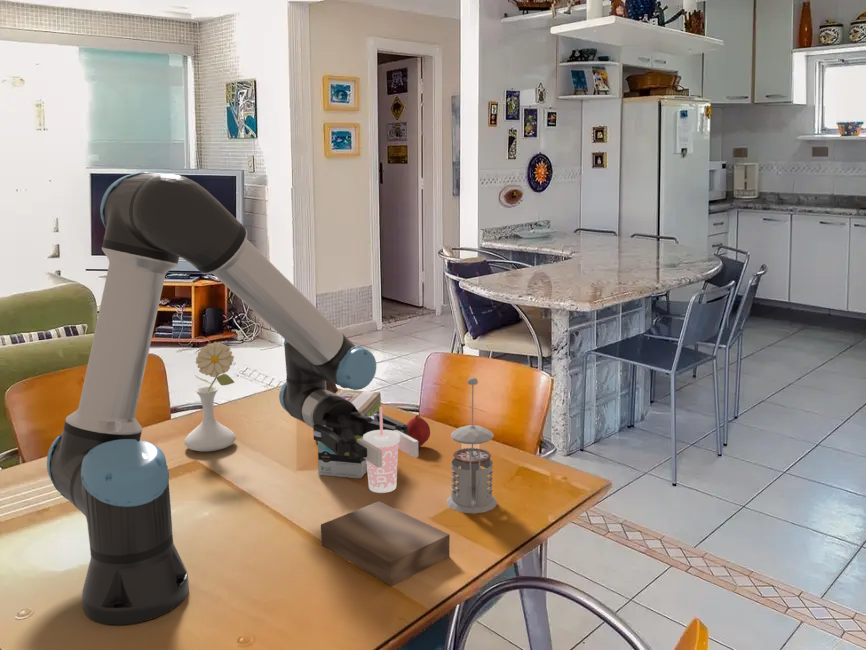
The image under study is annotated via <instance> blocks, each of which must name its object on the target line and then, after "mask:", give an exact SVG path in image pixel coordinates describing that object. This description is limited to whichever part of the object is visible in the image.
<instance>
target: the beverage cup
mask: <svg viewBox="0 0 866 650" xmlns="http://www.w3.org/2000/svg"><path fill="white" fill-rule="evenodd" d="M379 412H380V430H374V431H370V432H367V433H366V434H364V435H363V439H364V440H365V441H367V442H369V443H370V444H372V445H374V446H375V447H377V448H379V449H381V450H382V467H376V466H375V465H373V464H372V463H370V462H369V461H367V460H366V462H367V471H366V473H367V483H368V489H369V490H370V491H371V492H373V493H378V494H385V493H390V492H392V491H395V489H397V483H398V482H397V481H398V480H397V479H398V461H399V459H398V458H399V449H398V443H399V442H400V434H399V433H398V432H395V431H392V430H383V417H382V413H383V406H382V405H381V406H380V407H379Z"/></svg>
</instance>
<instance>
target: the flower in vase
mask: <svg viewBox="0 0 866 650" xmlns="http://www.w3.org/2000/svg"><path fill="white" fill-rule="evenodd" d="M234 358H235V356H234V355H233V352H232V350H231V347H230V346H228V345H225V344H223V343H222V342H218V341H214V342H212V343H207V344H206V345H205V346H202V347H201V348H200V350H199V351H198V353H197V357H196V359H195V360H196V361H195V364H196V365H197V368H198V371H199V373H201V374H204V375H205V376H209V377H211V378H214V379H213V380H212V382H209V380H207V379H204V378H202V377H198V376H197V375H195V373H194V376H195V377H196V379H199V380H201V381H203V382H206V383H209V384H210V385H207V386H201V387H197V388H195V390H194V391H195V392H196V394H197V395H198V396H199V398H200V401H201V404H202V405H201V406H202V412H203V417H202V421H201V422H200V424H198V425H197V426H196V427H195V428H193V429H192V430H191V432H190V433H188V434H187V436H186V437H185V439H184V441H183V442H184V445H185V447H186V448H188V449H189V450H191V451H196V452H214V451H219V450H223V449H225V448H228V447H230V446H232V445H233V444H234V443H235V441H236V439H237V437H236V435H235V433H234V432H233V431H232V430H231V429H230V428H228V427H226V426H225V425H224V424H222V423H220V422H219V421H217V419H216V418H215V415H214V400H215V396H216V394H217V392H218V390H219V387H217V386H213V385H214V383H215V382H216V381H217V382H218V384H219V385H220V386H228V385H232V384H234V383H235V381H234V380H233V378H231V377H230V375H228V374H226V373H228V372H229V370H230V367H231V366H232V364H233V362H234Z"/></svg>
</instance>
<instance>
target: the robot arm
mask: <svg viewBox="0 0 866 650" xmlns="http://www.w3.org/2000/svg"><path fill="white" fill-rule="evenodd" d="M100 219H101V221H102V224H103V226H104V228H105V232H104V235H103V240H102V241H103V242H102V246H101V250H102V251H103V254H104V255H105V256H106V257H107V259H108V268H107V272H106V278H105V283H104V285H103V290H102V296H101V301H100V306H99V311H98V314H97V319H96V325H95V329H94V335H93V338H92V344H91V348H90V352H89V356H88V362H87V366H86V370H85V376H84V380H83V386H82V388H81V389H82V390H81V395H80V399H79V404H78V408H77V409H76V410H75V411H73V412H71V414H69V415H67V416H66V417H65V421H64V423H63V424H64V425H63V430H62V433H60V435H57V437H56V438H55V439H54V440H53V442H52V443H51V445H50V447H49V449H48V452H47V457H46V471H47V475H48V477H49V479H50V481H51V482H52V486H54V488H55V490H56V491H57V492H59V493H60V495H61V496H62V497H64V498H65V499H66V500H67V501H69V502H70V503H71V504H72V505H74V507H75V508H76V509H77V510H78V511H80V512H81V513H82V514H83V515H84V517H85V518H86V523H87V531H88V533H87V534H88V541H89V551H90V560H89V565H88V568H87V572H86V576H85V579H84V584H83V587H82V593H81V597H82V599H81V600H82V608H83V612H84V614H85V615H86V616H87V617H88V618H89V619H90V620H92V621H93V622H94V621H95V622H98V623H101V624H105V625H112V626H113V625H116V626H117V625H118V626H120V625H132V624H137V623H143V622H146V621H150V620H153V619H155V618H158V617H160V616H164V615H165V614H167V613H169V612H171V611H172V610H174V609H176V608H177V607H178V606H180V604H181V603H183V601H184V600H185V599H186V597H188V596H187V595H188V594H189V590H190V586H189V585H190V584H189V574H188V571H187V568H186V567H185V565H184V563H183V560H182V557H181V556H180V554H179V552H178V548H176V545H175V543H174V539H173V538H174V536H173V523H172V522H173V521H172V520H173V519H172V509H171V495H170V494H171V493H170V470H169V468H168V465H167V459H166V455H165V453H164V451H163V450H161V448H160V447H159V446H157V445H155V444H154V443H152V442H150V441H146V440H141V437H142V432H143V427H142V426H141V424H140V423H139V422H138V420H137V417H136V414H137V413H136V412H137V408H138V403H139V399H140V395H141V389H142V386H143V385H142V384H143V380H144V375H145V371H146V367H147V362H148V357H149V353H150V348H151V344H152V338H153V334H154V329H155V324H156V320H157V315H158V311H159V308H160V307H159V306H160V301H161V297H162V292H163V288H164V283H165V280H166V279H165V278H166V274H167V273H168V272H169V271H172V270H173V269H175V268H176V267H177V266H178V265H179V260H180V258H182V259H183V260H185V261H186V262H188V263H189V264H191V265H192V266H193V267H195V269H196V270H197V271H199V272H200V273H201V274H203V275H213V276H215V278H217V280H219V281H220V282H221V283H222V284H223V285H225V287H227V288H228V290H230V291H231V292H232V293H233V294H234V295H235V296H237V298H239V300H241V301H242V302H243V303H244V304H245V305H247V307H248V308H250V310H252V311H253V312H254V313H255V314H256V315H257V316H259V318H261V319H262V320H263V321H264V322H265V323H266V324H268V325H269V326H270V327H271V328H272V329H273V330H274V331H275V332H276V333H277V334H278V335H279V336H281V337H282V338H283V339H284V340H283V341H284V342H283V346H284V347H283V349H284V357H285V369H286V370H285V371H286V373H285V374H286V381H285V382H284V383H283V384H282V386H281V389H280V392H279V395H278V397H279V398H278V399H279V403H280V405H281V407H282V409H284V410H285V411H286V412H287V413H288V415H289V416H291V417H293V418H294V419H296V420H299V421H301V422H302V423H304V424H305V425H307V426H309V427H310V428H312V431H313V440H314V441H315V442H316V441H319V442H322V443H323V444H324V445H326V446H327V447H328V448H329V449H331V450H332V451H333V452H334V453H336V454H337V455H338V456H343V455H345V452H348V453H349V458H350V459H355V458H356V456H358V457H359V458H364V459H365V460H367V461H369V462H370V463H372V464H373V465H375V466H376V467H382V450H381V449H379V448H377V447H375V446H374V445H372V444H370V443H369V442H367V441H365V440H364V439H362V438H360V439H357V442H356V438H355V437H354V436H357V435H359V436H362V437H363V435H364V434H366V433H367V432H370V431H374V430H380V412H379V411H376V412H375V414H374V416H369V417H368V416H367V415H366V414H362V413H359V412H358V410H357V409H356V407H355V406H354V405H353V404H352V403H351V402H349V401H347V400H346V399H344V398H342V397H340V396H339V395H336V394H334V393H332V392H330V391H328V390H327V389H326V381H329V382H331V383H334V384H336V386H339V387H341V388H342V389H348V390H356V391H361V390H362V389H365V388H366V387H367V386H369V385H370V383H371V382H372V381H373V379H374V378H375V376H376V373H377V360H376V357H375V355H374V354H373V353H372V352H371V351H370V350H368V349H366V348H364V347H363V346H361V345H356V344H354V343H353V342H352V341H351V340H350V339H349V338H348V337H347V336H346V335H345V334H344V333H343V332H341V330H339V329H338V327H336V326H335V325H334V324H333V323H332V322H331V321H330V320H329V319H328V318H327V317H326V316H325V315H324V314H323V313H322V312H321V311H320V310H319V309H318V308H317V307H316V305H314V304H313V303H312V302H311V301H310V300H309V299H308V297H306V296H305V295H304V293H302V292H301V291H300V290H299V289H298V288H297V287H296V286H295V285H294V284H293V283H292V282H291V281H290V280H289V278H287V277H286V276H285V275H284V274H283V273H282V272H281V271H280V270H279V269H278V268H277V267H276V266H275V265H274V264H273V263H272V262H271V261H270V260H269V259H268V258H267V257H266V256H264V254H263V253H262V252H261V251H260V250H259V249H258V248H257V247H255V246H254V244H253V243H251V241H249V240H248V230H247V229H246V227H245V226H244V225H243V224H242V223H241V222H240V221H239V220H238V219H237V218H236V217H235V216H234V215H233V214H232V213H231V212H230V211H229V210H228V209H227V208H226V207H225V206H224V205H223V204H222V203H221V202H220V201H219V200H218V199H217V198H216V197H214V196H213V195H212V194H211V193H210V192H209V191H208V190H207V189H205V187H204V186H202V185H200V184H199V183H198V182H196V181H194V180H193V179H190V178H188V177H186V176H183V175H178V174H173V173H172V174H171V173H170V174H168V173H167V174H166V173H156V172H155V173H154V172H147V171H144V172H142V171H141V172H135V173H131V174H128V175H125V176H122V177H120V178H118V179H117V180H115V181H114V182H113V183H111V184H110V185H109V186H108V188H107V189H106V190H105V192H104V194H103V196H102V199H101V203H100ZM382 417H383V430H392V431H395V432H398V433H399V434H400V442H399V443H398V450H400V451H402V452H403V453H405V454H407V455H409V456H411V457H412V458H418V457H419V448H418V441H417V440H415V439H413V438H412V437H411V436H409V435H408V425H407V423H404V422H402V421H399V420H397V419H395V418H393V417H390V416H387V415H385V414H384V413H383V412H382Z"/></svg>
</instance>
